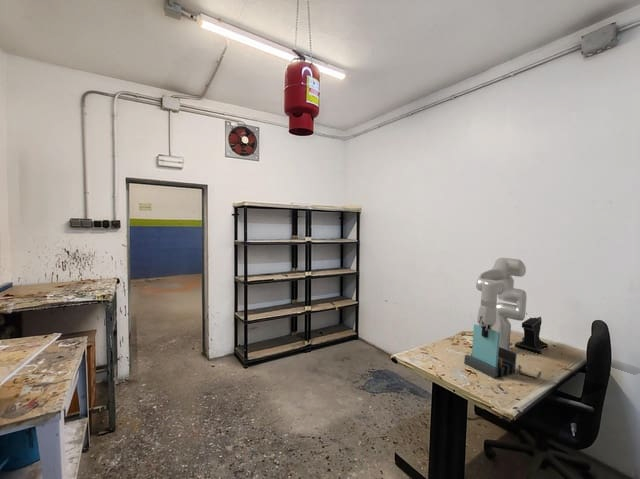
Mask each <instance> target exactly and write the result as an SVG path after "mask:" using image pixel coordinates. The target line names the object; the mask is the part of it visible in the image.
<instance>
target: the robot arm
mask: <svg viewBox="0 0 640 479" xmlns="http://www.w3.org/2000/svg"><path fill="white" fill-rule="evenodd" d="M526 271H527V267H526V265H525V263H524V262H523V261H522V259H521V260H520V259H517V258H512V257H511V258H510V257H509V258H507V257H500V258H497V259H496V261H495V263H494V264H493V266H492V269H488V270H486V271H484V272H482V273H480V274H479V276H478V278H477V279H476V282H475V287H476V290H477V291H479V292H481V296H480V297H481V299H480V306H479V309H478V313H477V320H476V322H477V324H478V325H479V326H480V327H481V329H482V336H483V337H486V338H487V337H488V330H487V329H491V330H494V331H497V332H500V339H499V347H501V348H504V349H506V350H509V351H512V348H510V346H513V343H512V342H510V340H511V330H512V325H511V322H510V320H513V321H522V322H523V321H525V318H526V310H527V309H526V308H527V292H526V291H525V290H524V289H521V288H515V287H514V285H515V279H514V278H513V276H514V277H524V276H525V274H526ZM498 299H499V300H501V301H504V302H497V301H498ZM506 302H507V303H506ZM512 303H513V304H512ZM509 319H510V320H509ZM492 328H493V329H492ZM512 352H513V351H512Z"/></svg>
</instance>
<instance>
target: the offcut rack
mask: <svg viewBox="0 0 640 479" xmlns="http://www.w3.org/2000/svg"><path fill="white" fill-rule="evenodd" d="M517 354H518V353H516V352H513V351H509V350H506V349H504V348H501V347H499V351H498V357H499V358H501V359H502V366H501V365H498V364H497V368H496V367H494V366H492V365H489V364H487V363H485V362H483V361H481V360H479V359H477V358H474V357H472V353H470V354H464V360H463V361H464V362H463V363H464V365H466V366H468V367H470V368H472V369H473V370H476V371H477V372H480V373H482V374H484V375H486V376H488V377H490V378H491V379H494V380H496V379H500V378H504V377H506V376H511V375H513V374H515V373H516V368H517V365H516V364H517Z"/></svg>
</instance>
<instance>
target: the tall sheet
mask: <svg viewBox="0 0 640 479" xmlns="http://www.w3.org/2000/svg"><path fill="white" fill-rule="evenodd" d="M487 330H488V337H487V338H486V337H483V336H482V329H481V327H480V326H479V324H478V323H477V324H473V334H472V348H471V354H472V357H474V358H477V359H479V360H481V361H483V362H485V363H487V364H489V365H492V366H494V367H496V368H497V364H498V351H499V339H500V332H497V331H494V329H487Z"/></svg>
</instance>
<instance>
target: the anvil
mask: <svg viewBox="0 0 640 479" xmlns="http://www.w3.org/2000/svg"><path fill="white" fill-rule="evenodd" d="M541 325H542V317H541V316H539V317H536V316H535V317H529V318H528V319H525V320H523V321H522V322H521V328H522V329H523V337H521V341H517V342H514V348H516V349H520V350H522V351H525V350H526V352H529V351H530V353H532V352H533V354H535V353H537V354H536V355H539V354H540V356H542V352H543V350H542V349H544V348H547V347H548V348H549V343H546V342H544V341H543V340H541V339H540V333H541V328H542V326H541ZM548 348H547V349H548ZM544 350H545V349H544Z"/></svg>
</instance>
